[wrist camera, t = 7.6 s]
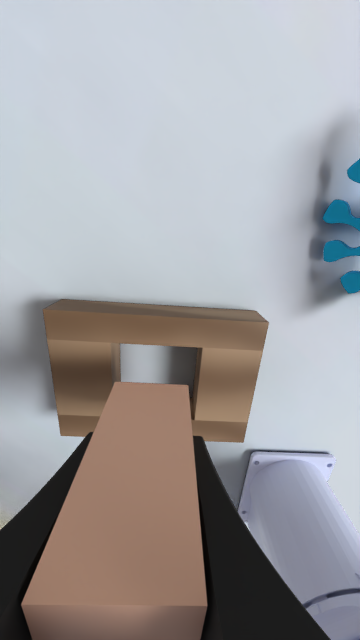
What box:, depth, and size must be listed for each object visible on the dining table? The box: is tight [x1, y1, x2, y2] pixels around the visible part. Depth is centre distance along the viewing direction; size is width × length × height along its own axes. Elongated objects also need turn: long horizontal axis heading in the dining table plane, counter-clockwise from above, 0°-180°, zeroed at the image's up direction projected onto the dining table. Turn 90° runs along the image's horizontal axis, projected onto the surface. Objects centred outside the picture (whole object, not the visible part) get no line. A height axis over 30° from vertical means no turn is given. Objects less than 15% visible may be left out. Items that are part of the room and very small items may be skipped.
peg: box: [21, 382, 207, 640], centre depth 9 cm, size 4×4×8 cm
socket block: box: [43, 299, 269, 443], centre depth 17 cm, size 10×14×2 cm
